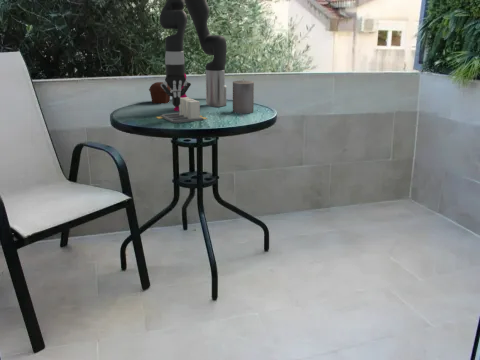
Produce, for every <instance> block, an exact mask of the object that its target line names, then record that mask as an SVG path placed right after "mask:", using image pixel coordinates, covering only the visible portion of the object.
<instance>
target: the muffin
mask: <svg viewBox="0 0 480 360" xmlns="http://www.w3.org/2000/svg"><path fill="white" fill-rule="evenodd" d="M164 82H165V81H159V82H154V83H153V84H151V85H150V87H149V88H148V90H149V92H150V98H151V102H152V104H156V103H160V104H161V103H164V104H169V103H170V102H169V101H171V96H168V95H167V93H166V92H165V91H164V90H163V89H162V87H161V86H160V84H163V83H164ZM167 88H168V89H169V91H170V92H171V89H170V87H169V86H168V84H167ZM168 102H169V103H168Z"/></svg>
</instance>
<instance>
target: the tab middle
mask: <svg viewBox="0 0 480 360" xmlns="http://www.w3.org/2000/svg"><path fill="white" fill-rule="evenodd" d="M187 101H195V99H193V98H190V99H183V113H184V117H188V105H187Z"/></svg>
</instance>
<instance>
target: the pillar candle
mask: <svg viewBox="0 0 480 360" xmlns="http://www.w3.org/2000/svg"><path fill="white" fill-rule="evenodd" d="M254 83H255V82H254V81H252V80H245V79H244V78H243V79H242V80H234V81H232V113H235V114H240V115H241V114H242V113H243V115H244V114H252V113H253V112H254V109H255V108H254V107H255V106H254V104H255V103H254V99H255V98H254V97H255V95H254V94H255V92H254V91H255V88H254V87H255V84H254Z"/></svg>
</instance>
